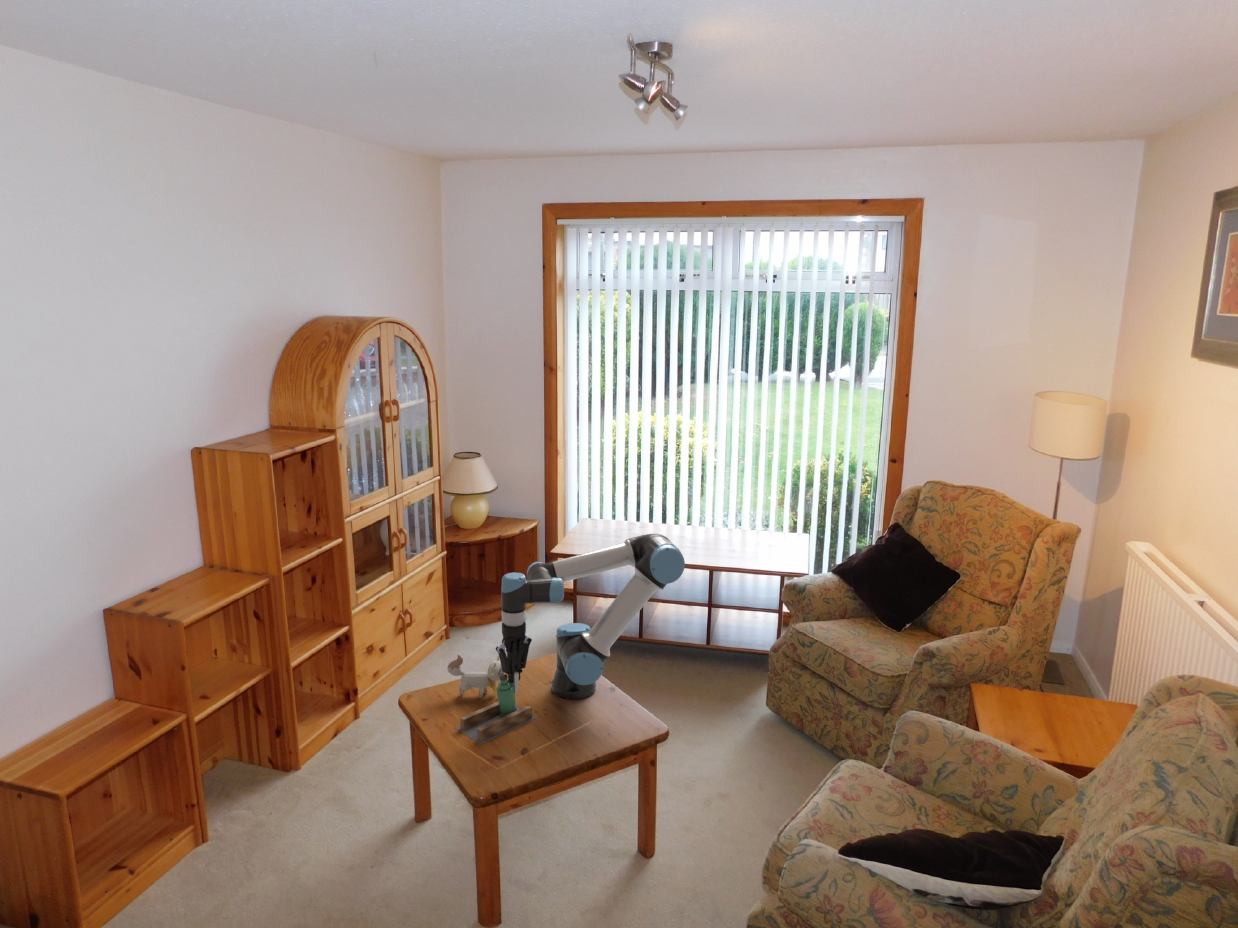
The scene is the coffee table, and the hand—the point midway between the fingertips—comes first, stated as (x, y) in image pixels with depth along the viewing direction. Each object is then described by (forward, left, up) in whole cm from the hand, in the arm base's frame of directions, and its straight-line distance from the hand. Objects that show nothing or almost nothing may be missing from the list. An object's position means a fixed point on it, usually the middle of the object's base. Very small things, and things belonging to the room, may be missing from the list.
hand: (514, 690), depth 265 cm
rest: (+7, 0, -9) cm, 11 cm away
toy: (+1, -19, -9) cm, 21 cm away
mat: (+7, 0, -9) cm, 11 cm away
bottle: (+2, 0, -8) cm, 8 cm away
